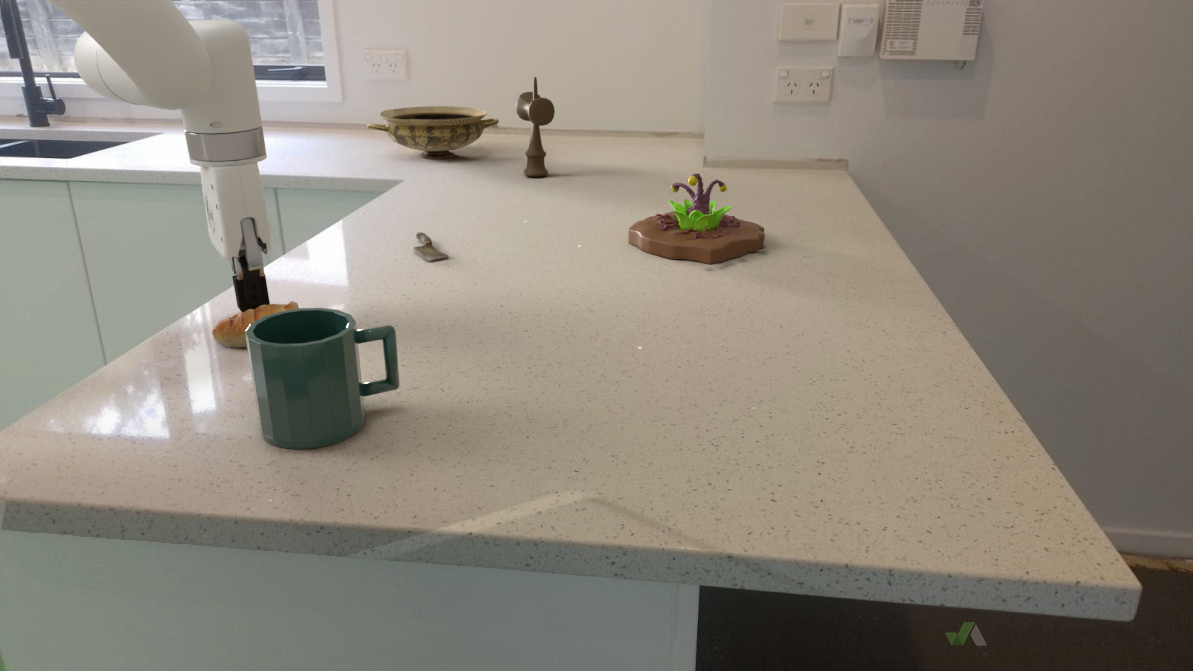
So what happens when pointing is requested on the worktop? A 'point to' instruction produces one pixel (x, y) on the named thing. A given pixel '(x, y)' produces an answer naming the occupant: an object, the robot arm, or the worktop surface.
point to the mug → (314, 375)
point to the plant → (697, 229)
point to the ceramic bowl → (434, 128)
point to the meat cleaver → (428, 248)
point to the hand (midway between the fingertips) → (254, 308)
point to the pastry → (245, 324)
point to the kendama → (535, 127)
